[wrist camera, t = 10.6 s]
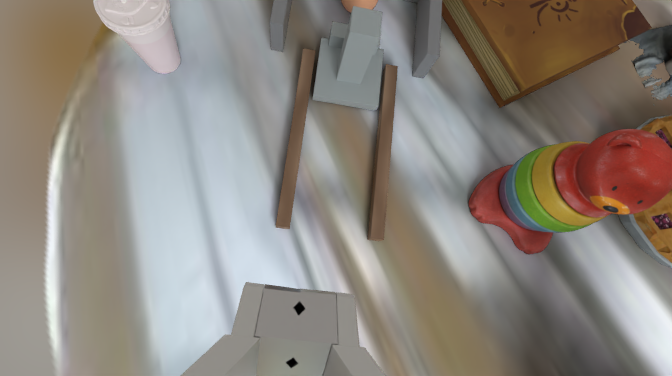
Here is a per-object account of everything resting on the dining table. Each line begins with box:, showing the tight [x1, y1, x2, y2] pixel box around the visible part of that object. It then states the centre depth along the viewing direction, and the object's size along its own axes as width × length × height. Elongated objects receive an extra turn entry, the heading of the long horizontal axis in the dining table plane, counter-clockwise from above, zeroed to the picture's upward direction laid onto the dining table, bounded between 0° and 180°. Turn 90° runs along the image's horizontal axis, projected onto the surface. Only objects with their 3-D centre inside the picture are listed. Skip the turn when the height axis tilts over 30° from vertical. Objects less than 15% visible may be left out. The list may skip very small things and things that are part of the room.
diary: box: [441, 0, 652, 108], centre depth 49 cm, size 23×19×6 cm
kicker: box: [313, 6, 384, 111], centre depth 40 cm, size 8×9×10 cm
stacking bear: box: [469, 129, 672, 254], centre depth 36 cm, size 11×10×18 cm
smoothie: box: [93, 0, 181, 74], centre depth 35 cm, size 6×6×14 cm
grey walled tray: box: [270, 0, 442, 78], centre depth 44 cm, size 20×13×5 cm, turn 83°
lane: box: [276, 48, 398, 241], centre depth 42 cm, size 12×22×2 cm, turn 173°
